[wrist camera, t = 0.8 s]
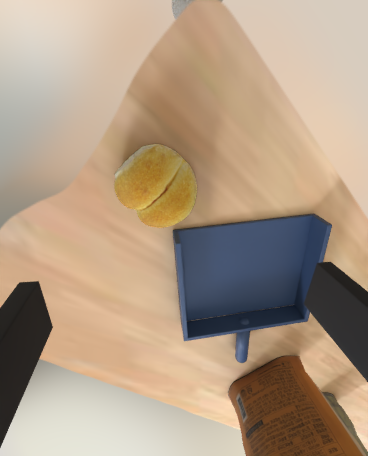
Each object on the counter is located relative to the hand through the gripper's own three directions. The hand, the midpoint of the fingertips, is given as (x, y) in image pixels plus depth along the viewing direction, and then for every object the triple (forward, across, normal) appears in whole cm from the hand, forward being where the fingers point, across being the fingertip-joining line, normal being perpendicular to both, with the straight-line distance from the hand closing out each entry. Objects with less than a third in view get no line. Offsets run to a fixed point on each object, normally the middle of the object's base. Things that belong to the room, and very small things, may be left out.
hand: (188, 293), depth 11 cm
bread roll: (+18, -1, 0) cm, 18 cm away
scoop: (+18, +12, -17) cm, 28 cm away
